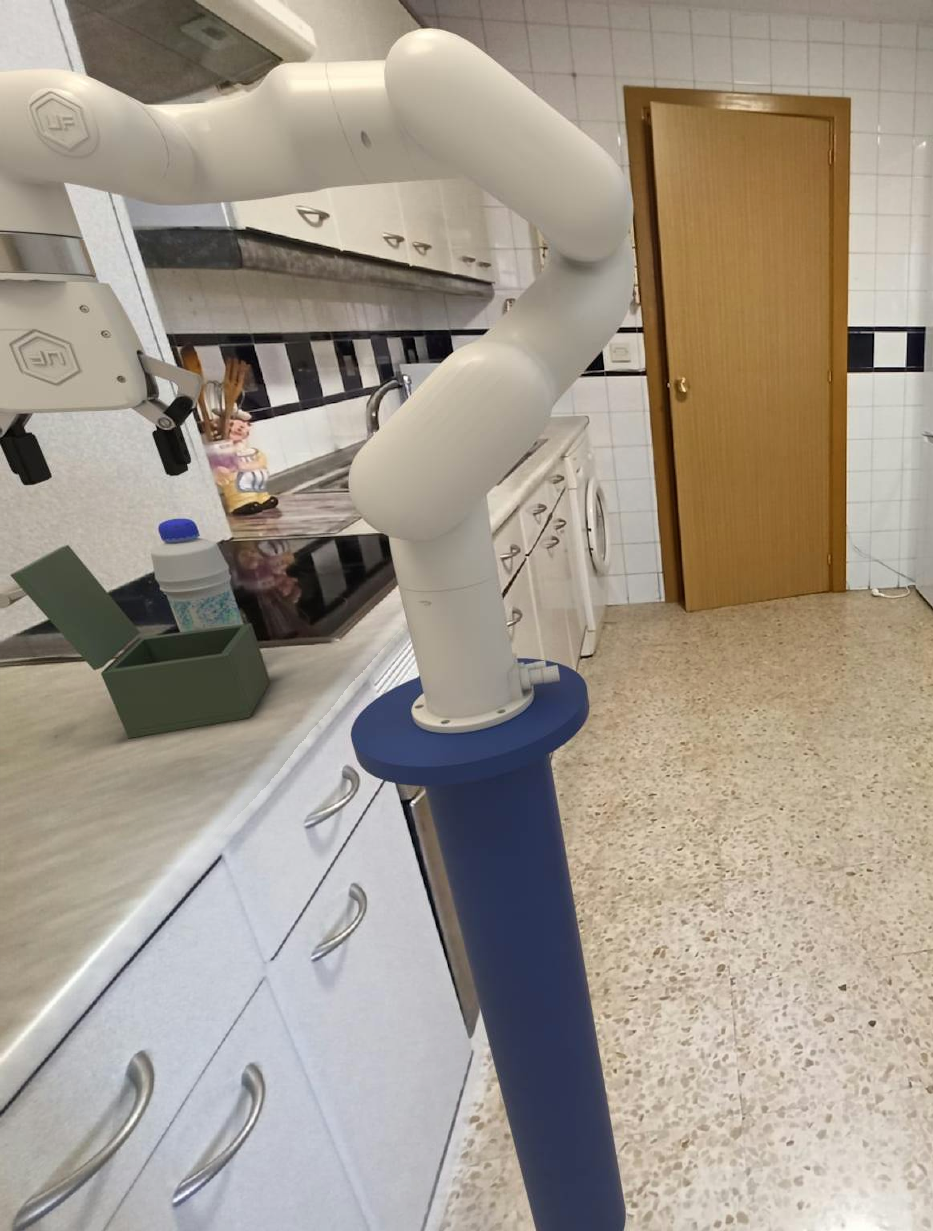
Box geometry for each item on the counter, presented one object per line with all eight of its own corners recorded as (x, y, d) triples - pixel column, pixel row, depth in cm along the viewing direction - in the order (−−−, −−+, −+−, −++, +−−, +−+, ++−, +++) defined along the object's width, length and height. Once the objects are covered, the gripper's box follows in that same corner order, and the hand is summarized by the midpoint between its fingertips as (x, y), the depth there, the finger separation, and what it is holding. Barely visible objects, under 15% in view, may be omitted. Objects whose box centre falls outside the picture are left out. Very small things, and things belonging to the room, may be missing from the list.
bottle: (212, 666, 91) (157, 513, 84) (271, 660, 93) (223, 510, 85) (182, 690, 85) (120, 528, 78) (246, 684, 87) (192, 525, 79)
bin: (270, 681, 88) (251, 622, 85) (249, 718, 80) (227, 655, 77) (162, 698, 84) (138, 637, 81) (128, 738, 76) (100, 673, 73)
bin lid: (68, 544, 76) (12, 562, 74) (19, 571, 67) (-44, 592, 66) (140, 632, 81) (89, 650, 79) (102, 667, 73) (45, 688, 71)
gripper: (-164, 255, 50) (-50, 495, 57) (146, 262, 57) (216, 477, 63) (-91, 262, 57) (4, 477, 63) (181, 268, 63) (241, 463, 70)
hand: (110, 477), depth 63 cm, fingers open, 9 cm apart
